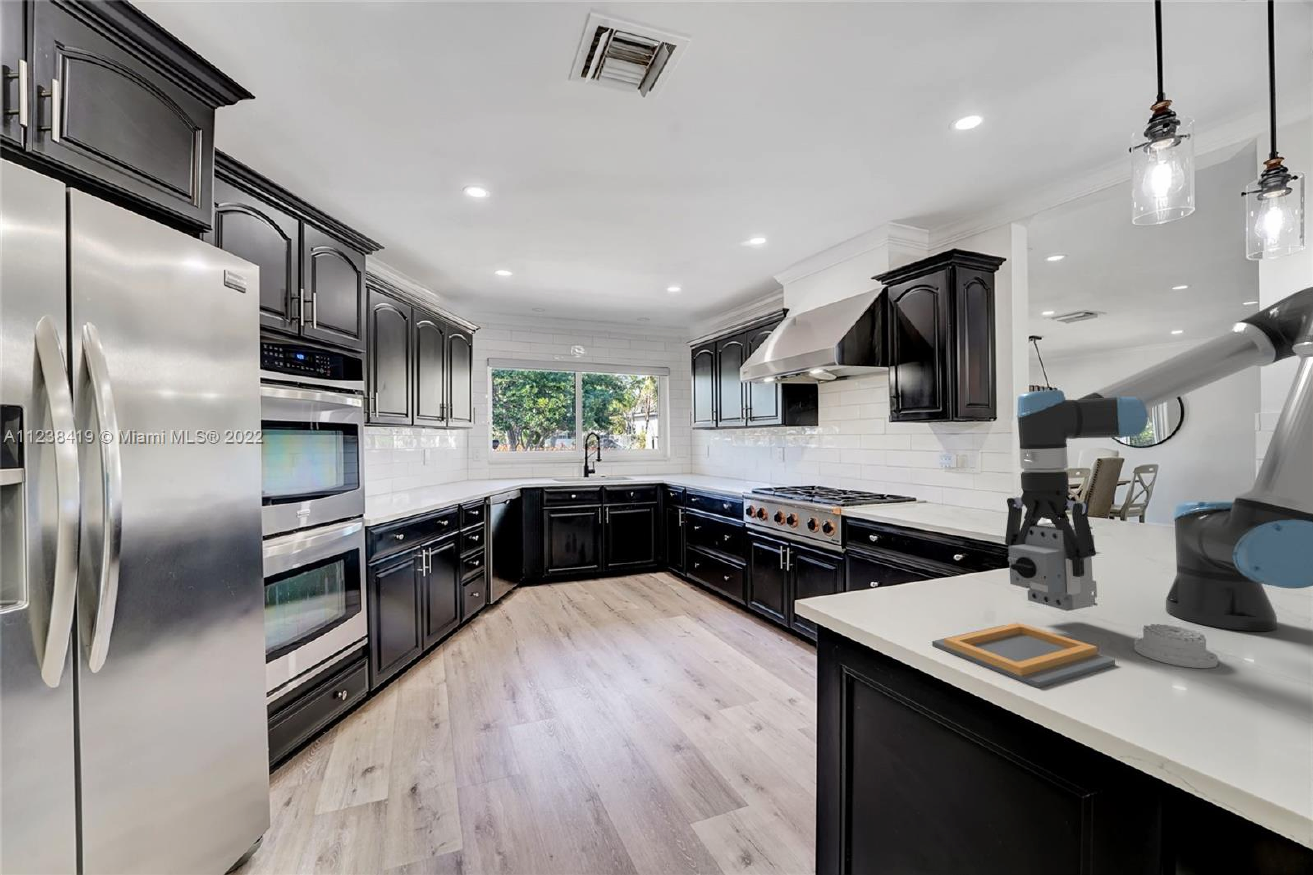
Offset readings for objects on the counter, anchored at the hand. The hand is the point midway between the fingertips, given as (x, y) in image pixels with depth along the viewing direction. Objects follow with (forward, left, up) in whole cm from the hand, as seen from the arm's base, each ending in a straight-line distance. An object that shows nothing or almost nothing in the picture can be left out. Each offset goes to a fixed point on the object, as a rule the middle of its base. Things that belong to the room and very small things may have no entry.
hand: (1049, 587), depth 104 cm
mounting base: (+19, +7, -7) cm, 22 cm away
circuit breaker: (0, 0, -4) cm, 4 cm away
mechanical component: (-3, +18, -8) cm, 19 cm away
